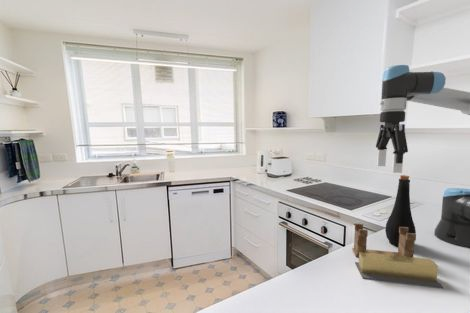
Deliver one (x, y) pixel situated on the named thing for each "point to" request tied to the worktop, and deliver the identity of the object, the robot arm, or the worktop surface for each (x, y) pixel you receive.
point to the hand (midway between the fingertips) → (388, 169)
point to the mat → (399, 279)
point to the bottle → (400, 213)
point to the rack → (403, 250)
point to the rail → (398, 266)
